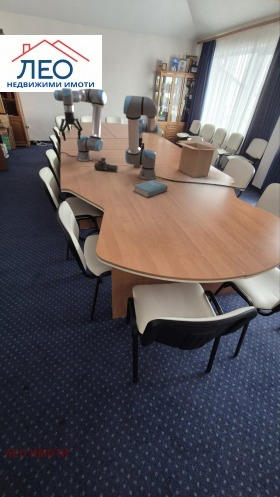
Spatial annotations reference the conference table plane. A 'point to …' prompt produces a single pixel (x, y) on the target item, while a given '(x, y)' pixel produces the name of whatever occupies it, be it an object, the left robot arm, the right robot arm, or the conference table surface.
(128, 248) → the conference table surface
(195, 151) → the box
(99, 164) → the laser sight
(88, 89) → the left robot arm
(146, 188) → the book
